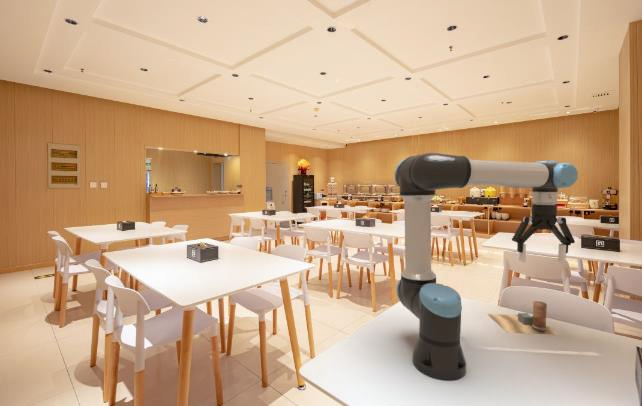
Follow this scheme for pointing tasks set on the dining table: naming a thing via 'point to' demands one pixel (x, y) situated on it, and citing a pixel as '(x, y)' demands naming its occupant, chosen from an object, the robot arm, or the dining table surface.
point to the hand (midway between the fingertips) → (541, 261)
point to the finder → (525, 318)
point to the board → (517, 325)
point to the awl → (539, 316)
